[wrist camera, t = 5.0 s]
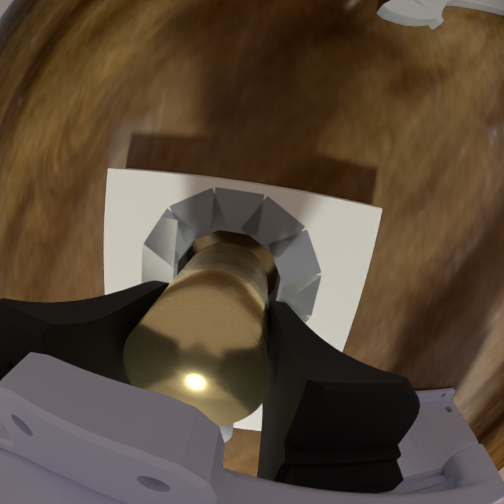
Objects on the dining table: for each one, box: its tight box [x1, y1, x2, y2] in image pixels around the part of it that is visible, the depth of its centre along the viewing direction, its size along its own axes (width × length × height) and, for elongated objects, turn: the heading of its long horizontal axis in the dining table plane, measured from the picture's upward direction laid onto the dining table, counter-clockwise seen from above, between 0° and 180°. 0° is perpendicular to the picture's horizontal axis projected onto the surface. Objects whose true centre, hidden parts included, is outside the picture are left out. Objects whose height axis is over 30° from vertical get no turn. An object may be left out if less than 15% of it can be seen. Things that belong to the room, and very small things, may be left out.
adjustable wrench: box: [377, 0, 504, 30], centre depth 9 cm, size 25×6×2 cm, turn 106°
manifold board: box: [104, 168, 382, 442], centre depth 15 cm, size 14×16×5 cm
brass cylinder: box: [123, 243, 269, 426], centre depth 10 cm, size 4×4×7 cm
